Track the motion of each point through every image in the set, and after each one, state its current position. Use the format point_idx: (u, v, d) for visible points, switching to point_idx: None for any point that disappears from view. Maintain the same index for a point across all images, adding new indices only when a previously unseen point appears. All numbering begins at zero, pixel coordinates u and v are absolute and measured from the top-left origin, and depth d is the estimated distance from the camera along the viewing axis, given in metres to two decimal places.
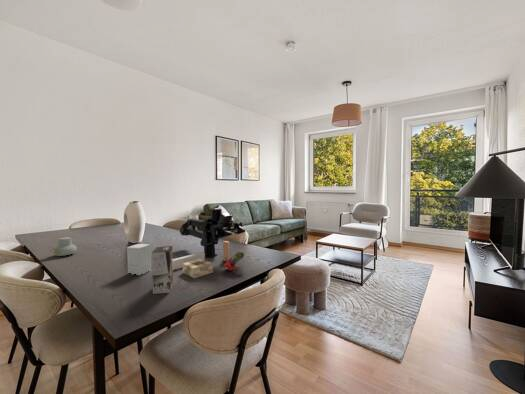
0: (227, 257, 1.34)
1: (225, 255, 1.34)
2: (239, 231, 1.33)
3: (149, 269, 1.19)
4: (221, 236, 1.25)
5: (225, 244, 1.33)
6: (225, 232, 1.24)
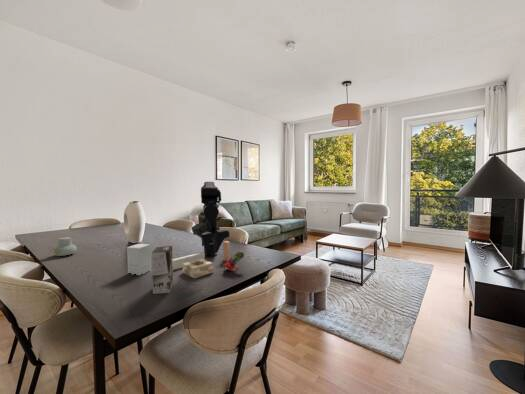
0: (227, 257, 1.34)
1: (225, 255, 1.34)
2: None
3: (149, 269, 1.19)
4: None
5: (225, 244, 1.33)
6: None
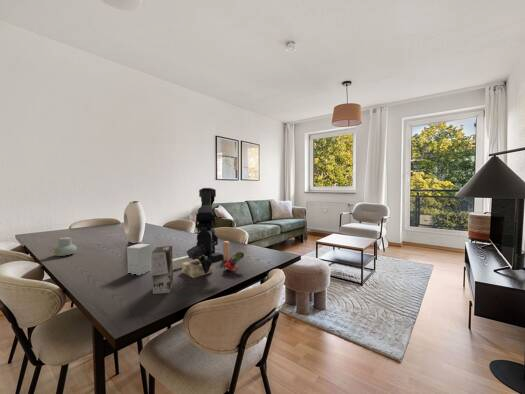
0: (227, 257, 1.34)
1: (225, 255, 1.34)
2: None
3: (149, 269, 1.19)
4: None
5: (225, 244, 1.33)
6: None
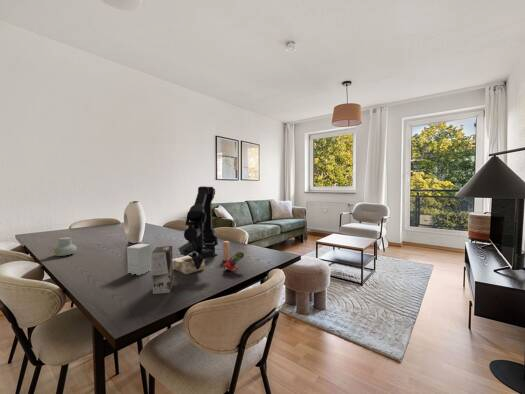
0: (227, 257, 1.34)
1: (225, 255, 1.34)
2: None
3: (149, 269, 1.19)
4: None
5: (225, 244, 1.33)
6: None
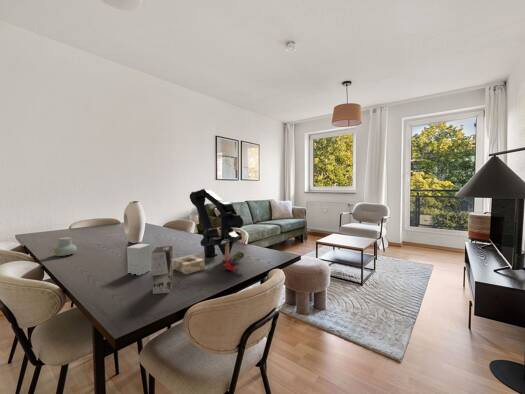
0: (227, 257, 1.34)
1: (225, 255, 1.34)
2: None
3: (149, 269, 1.19)
4: (218, 245, 1.34)
5: None
6: (222, 250, 1.33)
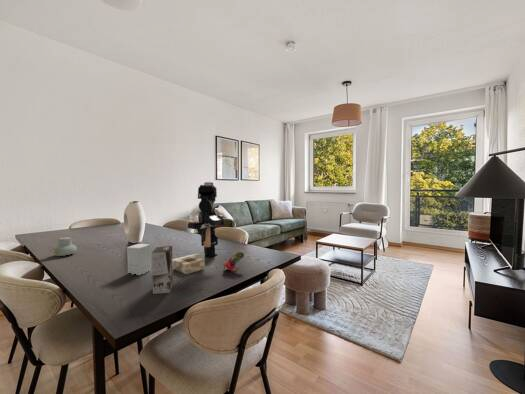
0: (208, 243, 1.25)
1: (205, 241, 1.25)
2: None
3: (149, 269, 1.19)
4: (198, 230, 1.25)
5: (206, 229, 1.25)
6: (202, 235, 1.24)
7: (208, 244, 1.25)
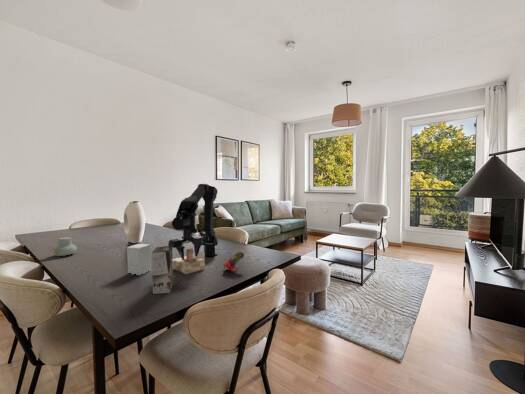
0: None
1: None
2: (195, 246, 1.24)
3: (149, 269, 1.19)
4: (177, 248, 1.18)
5: (188, 251, 1.19)
6: (181, 253, 1.17)
7: None
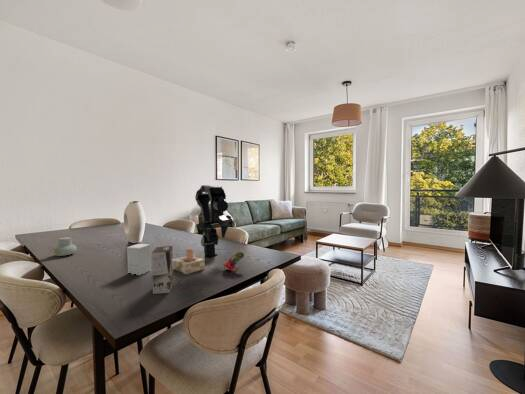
0: None
1: None
2: (222, 228, 1.36)
3: (149, 269, 1.19)
4: (203, 230, 1.29)
5: (188, 251, 1.19)
6: (207, 235, 1.28)
7: None
